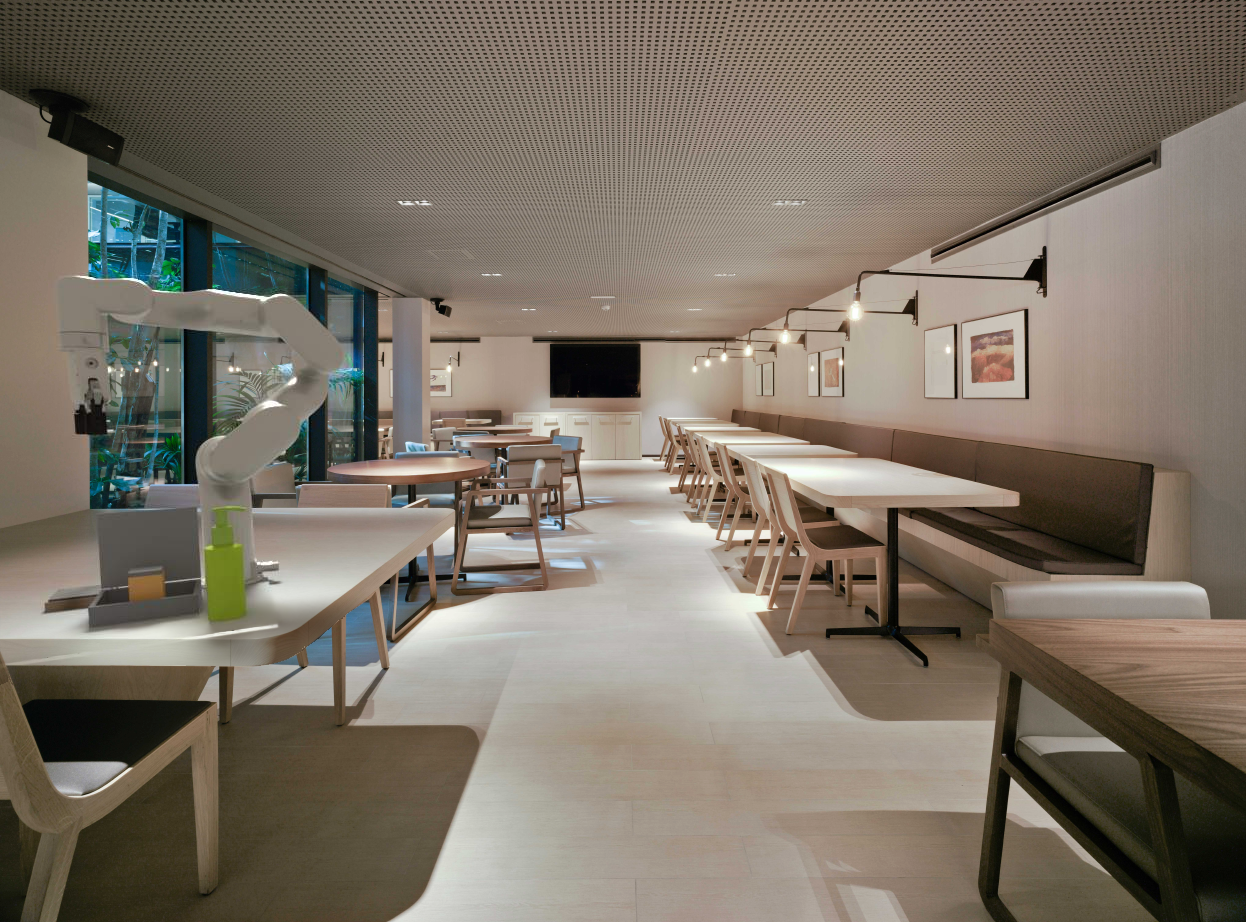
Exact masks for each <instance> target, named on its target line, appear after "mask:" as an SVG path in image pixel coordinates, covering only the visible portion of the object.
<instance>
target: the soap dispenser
mask: <svg viewBox="0 0 1246 922" xmlns="http://www.w3.org/2000/svg"><path fill="white" fill-rule="evenodd" d="M246 509H247V508H245V507H239V506H226V507H218V508H213V509H211V513H213V512H216V523H217V525H214V526H213V527H211V533H212V545H210V546H207V547H205V548H204V555H205V571H206V587H207V589H206V598H207V601H206V602H207V615H208V621H211V622H224V621H231V620H236V619H239V618H243V617H245V616H246V615H247V603H246V601H247V600H246V585H245V581H244V563H243V546H242V544H240V543H234V531H233V525H230V524H228V522H227V511H242V512H243V511H245V510H246ZM204 555H203V556H204ZM205 571H204V572H205Z"/></svg>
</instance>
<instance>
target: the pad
mask: <svg viewBox="0 0 1246 922" xmlns="http://www.w3.org/2000/svg"><path fill="white" fill-rule="evenodd" d="M116 588H119V587H114V588H105V589H101V584H98V585H97V584H95V585H86V586H79V587H69V588H60V589H57V591H56V590H55V592H54V593H53V594H52V595H50V597H49V598H48V599H47V600H46V601H45V602H44V612H46V613H47V612H55V611H63V610H65V611H66V610H72V609H79V608H88V607H89V606H90V605H91V603H92V602H93V600H94V599H95V598H96V596H97V595H98V594H99V592H100V591H101V590H107V589H116Z"/></svg>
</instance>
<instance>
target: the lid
mask: <svg viewBox="0 0 1246 922" xmlns="http://www.w3.org/2000/svg"><path fill="white" fill-rule="evenodd" d="M96 522H97V538H98V539H97V540H98V541H97V542H98V555H99V558H98V559H99V573H100V585H101V589H105V588H114V587H118V588H124V587H129V584H128V572H129V571H130V569H131V568H137V567H147V566H157V565H164V575H165V583H169V582H178V581H186V580H195V579H202V569H201V568H202V567H201V553H200V536H199V533H200V532H199V518H198V506H189V507H188V506H187V507H174V508H159V509H148V510H147V509H146V510H134V511H133V510H131V511H120V512H119V511H117V512H115V511H114V512H104V513H96Z"/></svg>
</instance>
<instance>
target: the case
mask: <svg viewBox="0 0 1246 922" xmlns="http://www.w3.org/2000/svg"><path fill="white" fill-rule="evenodd" d="M201 579H202V578H194V579H186V580H177V581H168V582H165V590H166V597H165V598H157V599H149V600H141V601H132V602H130V598H129V586H124V587H118V588H116V589H107V590H101V591H100V592H99V594H98V595H97V596H96V598H95V599H94V600H93V602H92V603H91V605H90V606H89V607H87V612H88V613H87V614H88V615H87V616H88V626H89V628H90V629H91V628H92V629H93V628H99V627H107V626H113V625H122V624H128V623H129V624H130V623H137V622H144V621H145V622H146V621H152V620H153V621H154V620H159V619H167V618H168V619H169V618H174V617H175V618H176V617H182V616H188V615H190V616H191V615H197V614H200V610H201V605H202V599H203V588H202V587H201Z"/></svg>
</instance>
